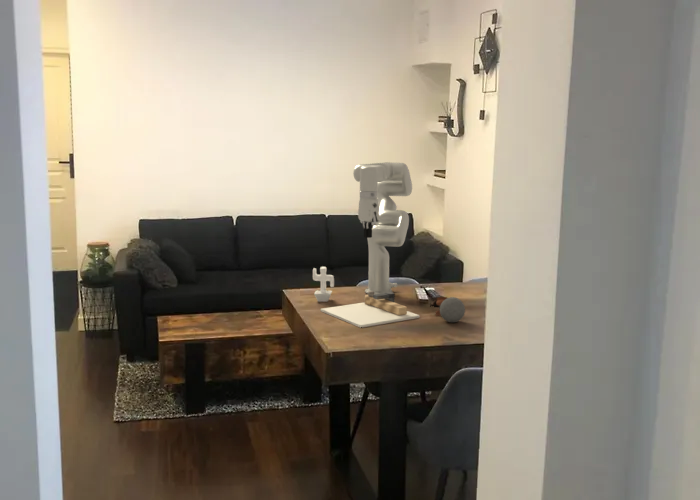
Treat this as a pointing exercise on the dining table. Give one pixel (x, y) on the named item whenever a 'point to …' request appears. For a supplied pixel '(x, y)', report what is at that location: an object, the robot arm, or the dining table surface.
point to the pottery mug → (437, 304)
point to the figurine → (323, 284)
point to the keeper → (385, 296)
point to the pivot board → (366, 314)
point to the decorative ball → (452, 309)
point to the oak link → (385, 304)
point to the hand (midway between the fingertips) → (367, 237)
